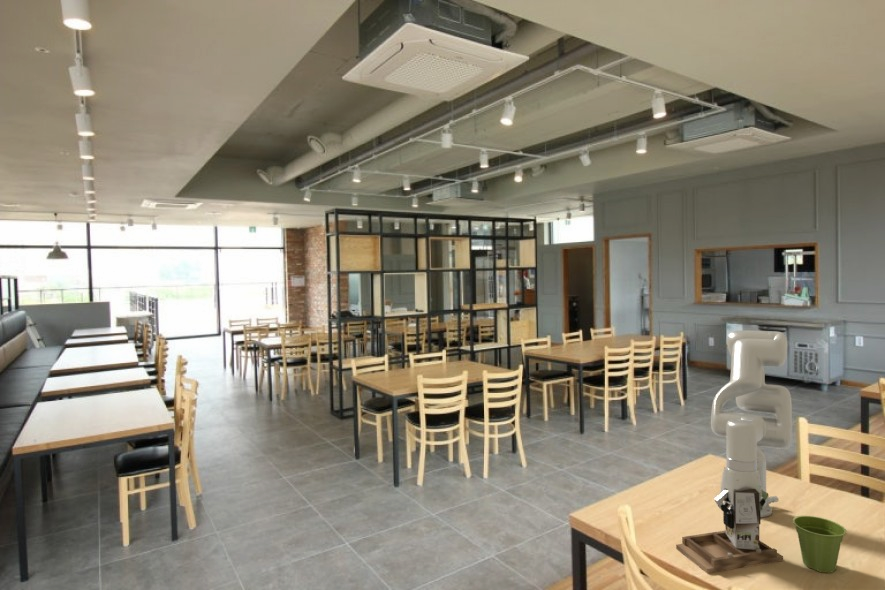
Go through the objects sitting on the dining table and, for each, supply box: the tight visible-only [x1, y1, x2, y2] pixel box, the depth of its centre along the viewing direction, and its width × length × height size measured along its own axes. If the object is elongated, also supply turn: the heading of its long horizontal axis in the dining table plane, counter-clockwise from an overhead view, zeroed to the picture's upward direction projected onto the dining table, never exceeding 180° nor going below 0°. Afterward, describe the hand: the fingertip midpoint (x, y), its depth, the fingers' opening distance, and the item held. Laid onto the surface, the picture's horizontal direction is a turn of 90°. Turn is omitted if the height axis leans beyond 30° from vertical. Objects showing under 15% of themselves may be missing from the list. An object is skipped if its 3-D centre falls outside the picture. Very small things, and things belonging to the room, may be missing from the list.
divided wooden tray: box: [675, 529, 784, 574], centre depth 149 cm, size 24×13×4 cm, turn 102°
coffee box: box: [724, 489, 760, 550], centre depth 150 cm, size 9×6×16 cm
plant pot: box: [792, 515, 847, 573], centre depth 142 cm, size 12×12×11 cm
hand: (741, 524), depth 150 cm, fingers closed on coffee box, 8 cm apart
